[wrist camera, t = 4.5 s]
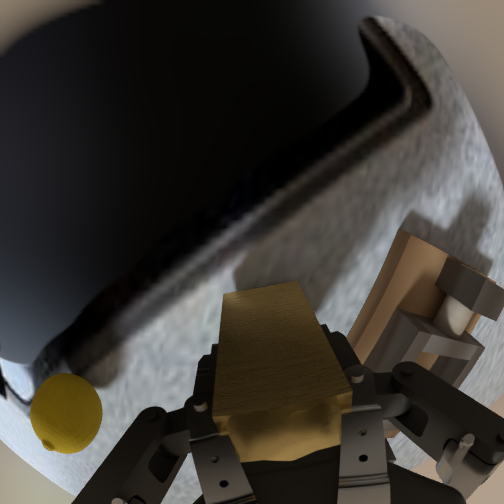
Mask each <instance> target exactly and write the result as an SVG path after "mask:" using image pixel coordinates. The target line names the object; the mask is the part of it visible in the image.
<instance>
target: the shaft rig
mask: <svg viewBox="0 0 504 504" xmlns="http://www.w3.org/2000/svg"><path fill="white" fill-rule="evenodd" d="M503 307H504V289H503V288H501V287H499V286H498V285H496V282H494V281H493V280H491V279H490V278H488V277H486V276H485V275H483V274H481V273H480V272H478V271H476V270H475V269H473V268H471V267H470V266H468V265H466V264H465V263H463V262H461V261H459V260H458V259H456V258H454V257H452V256H450V255H449V254H447V253H445V252H443V251H441V250H440V249H438V248H436V247H434V246H432V245H430V244H428V243H426V242H425V241H423V240H421V239H419V238H417V237H415V236H413V235H411V234H409V233H407V232H404V231H402V230H400V229H399V230H398V232H397V235H396V237H395V239H394V242H393V244H392V246H391V249H390V251H389V253H388V256H387V258H386V260H385V262H384V265H383V267H382V269H381V271H380V273H379V275H378V278H377V280H376V282H375V284H374V286H373V288H372V290H371V292H370V294H369V296H368V298H367V300H366V302H365V304H364V306H363V308H362V310H361V312H360V314H359V316H358V317H357V319H356V321H355V323H354V325H353V327H352V329H351V330H350V332H349V334H348V336H347V337H346V339H347V340H348V342H349V344H350V345H351V348H352V349H353V350H354V352H355V354H356V355H357V357H358V359H359V360H360V362H361V364H362V365H364V366H367V367H369V368H370V369H371V370H372V371H373V372H375V373H385V372H392V369H393V367H394V366H395V365H396V364H398V363H400V362H404V361H412V362H415V363H417V364H419V365H420V366H422V367H424V368H425V369H427V370H428V371H430V372H431V373H433V374H435V375H436V376H438V377H439V378H441V379H442V380H444V381H446V382H447V383H449V384H450V385H452V386H453V387H455V388H457V389H458V388H459V387H460V385H461V384H462V383H463V381H464V380H465V378H466V377H467V375H468V374H469V372H470V371H471V370H472V368H473V366H474V365H475V363H476V362H477V360H478V359H479V357H480V356H481V354H482V352H483V351H484V349H485V347H484V346H483V345H482V344H480V343H479V342H478V341H477V340H476V339H475V338H474V337H473V336H471V335H470V334H471V332H472V331H473V329H474V327H475V325H476V323H477V322H478V320H479V318H480V316H481V315H483V316H485V317H487V318H490V319H492V320H495V321H497V319H498V317H499V315H500V313H501V311H502V309H503ZM382 419H383V428H384V437H385V448H386V460H387V461H389V462H391V463H393V462H394V461H395V460H396V458H395V456H394V454H393V451H392V449H391V447H390V445H389V443H388V441H387V439H386V438H394V437H395V436H396V435H397V434H398V433H399V431H400V430H399V429H398V428H396V427H395V426H394V425H393V424H392V423H391V422H389V421H388V420H387V419H386V417H383V418H382Z"/></svg>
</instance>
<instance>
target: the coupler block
mask: <svg viewBox="0 0 504 504" xmlns="http://www.w3.org/2000/svg"><path fill="white" fill-rule="evenodd" d="M352 393H353V391H352V389H351V387H350V385H349V383H348V380H347V378H346V376H345V374H344V372H343V370H342V368H341V366H340V364H339V362H338V360H337V358H336V356H335V354H334V352H333V350H332V348H331V346H330V344H329V342H328V340H327V338H326V336H325V334H324V332H323V330H322V328H321V326H320V324H319V322H318V320H317V318H316V316H315V314H314V312H313V310H312V308H311V306H310V304H309V302H308V300H307V298H306V296H305V295H304V293H303V291H302V289H301V287H300V285H299V283H298V281H292V282H286V283H281V284H276V285H271V286H265V287H260V288H254V289H248V290H243V291H237V292H231V293H225V294H223V303H222V312H221V322H220V332H219V343H218V353H217V364H216V375H215V387H214V399H213V411H212V418H213V420H214V423H215V425H216V427H217V429H218V432H220V431H224V430H227V431H228V433H229V436H230V438H231V441H232V443H233V445H234V448H235V450H236V452H237V455H238V457H239V459H240V461H241V462H251V461H259V460H273V461H293V460H296V459H298V458H301V457H303V456H305V455H308V454H310V453H312V452H314V451H317V450H320V449H324V448H328V447H332V446H336V445H339V439H340V423H341V409H344V408H351V407H352Z"/></svg>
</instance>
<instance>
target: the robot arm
mask: <svg viewBox="0 0 504 504" xmlns="http://www.w3.org/2000/svg"><path fill="white" fill-rule="evenodd" d="M320 326H321V328H322V330H323V332H324V334H325V336H326V338H327V340H328V342H329V344H330V346H331V348H332V350H333V352H334V354H335V356H336V358H337V360H338V362H339V364H340V366H341V368H342V370H343V372H344V374H345V376H346V378H347V380H348V383H349V385H350V387H351V389H352V391H353V393H352V407H351V408H344V409H341V423H340V439H339V445H336V446H332V447H328V448H324V449H320V450H317V451H314V452H312V453H310V454H308V455H305V456H303V457H301V458H298V459H296V460H293V461H273V460H259V461H251V462H241V461H240V459H239V457H238V455H237V452H236V450H235V448H234V445H233V443H232V441H231V438H230V436H229V433H228V431H227V430H224V431H220V432H218V429H217V427H216V425H215V423H214V420H213V418H212V411H213V399H214V387H215V375H216V364H217V353H218V344H212V349H211V354H209V355H203V357H202V358H201V359H200V361H199V362H198V368H197V373H196V379H195V385H194V391H193V396H191V397H189V398H188V399H187V400H186V402H185V404H184V407H183V408H181V409H178V410H175V411H171V412H168V413H167V412H166V411H165V410H164V409H163V408H161V407H156V406H154V407H149V408H146V409H144V410H143V411H142V412H140V414H139V415H138V416H137V418H136V419H135V420H134V422H133V423H132V424H131V426H130V427H129V428H128V430H127V431H126V432H125V434H124V435H123V436H122V438H121V439H120V440H119V442H118V443H117V444H116V445H115V447H114V448H113V449H112V451H111V452H110V453H109V455H108V456H107V457H106V459H105V460H104V461H103V463H102V464H101V465H100V467H99V468H98V469H97V471H96V472H95V473H94V475H93V476H92V477H91V479H90V480H89V481H88V483H87V484H86V485H85V486H84V488H83V489H82V490H81V492H80V493H79V494H78V496H77V497H76V498H75V500H74V501H73V502H72V504H161V502H162V500H163V498H164V497H165V495H166V493H167V491H168V489H169V488H170V486H171V484H172V482H173V480H174V479H175V477H176V475H177V473H178V471H179V470H180V468H181V466H182V464H183V462H184V460H185V458H186V457H187V454H188V453H191V452H192V456H193V460H194V464H195V468H196V471H197V475H198V479H199V482H200V486H201V489H202V492H203V494H202V495H201V496H200V497H199V498H198V499H197V500H196V501H195V502H194V503H193V504H466V499H468V498H469V497H470V495H471V494H472V493H473V492H474V491H475V490H476V489H477V488H478V487H479V485H481V484H483V483H484V482H485V481H486V480H487V479H488V477H490V475H491V474H492V473H493V472H494V471H495V470H496V469H497V467H498V466H499V465H500V464H501V463H502V462H503V460H504V418H502V417H501V416H499V415H498V414H496V413H494V412H493V411H491V410H490V409H488V408H486V407H485V406H483V405H482V404H480V403H479V402H477V401H475V400H474V399H472V398H471V397H469V396H468V395H466V394H464V393H463V392H461V391H460V390H458V389H457V388H455V387H453V386H452V385H450V384H449V383H447V382H446V381H444V380H442V379H441V378H439V377H438V376H436V375H435V374H433V373H431V372H430V371H428V370H427V369H425V368H424V367H422V366H420V365H419V364H417V363H415V362H412V361H404V362H400V363H398V364H396V365H395V366H394V367H393V369H392V372H385V373H375V372H373V371H372V370H371V369H370V368H369V367H367V366H364V365H362V364H361V362H360V360H359V359H358V357H357V355H356V354H355V352H354V350H353V349H352V348H351V345H350V344H349V342H348V340H347V339H346V337H345V335H343V334H341V333H340V332H338V331H335V332H331V333H330V331H329V329H328V327H327V325H326V324H323V325H320ZM383 417H386V419H387V420H388V421H389V422H391V423H392V424H393V425H394V426H395V427H396V428H398V429H399V430H400V431H401V432H402V433H403V434H405V435H406V436H407V437H408V438H409V439H410V440H412V441H413V442H414V443H415V444H416V445H417V446H419V447H420V448H421V449H422V450H423V451H425V452H426V453H427V454H428V455H429V456H431V457H432V458H433V459H434V460H435V461H437V464H436V471H437V473H438V475H439V477H440V478H441V479H442V482H443V483H440V482H438V481H435V480H432V479H429V478H427V477H424V476H422V475H419V474H417V473H414V472H412V471H410V470H407V469H405V468H403V467H400V466H398V465H396V464H394V463H391V462H389V461H387V460H386V448H385V437H384V428H383V419H382V418H383Z"/></svg>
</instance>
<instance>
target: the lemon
mask: <svg viewBox="0 0 504 504" xmlns="http://www.w3.org/2000/svg"><path fill="white" fill-rule="evenodd" d="M102 415H103V413H102V404H101V401H100V398H99V396H98V394H97V392H96V390H95V389H94V388H93V387H92V385H91V384H90V383H88V381H87V380H85V379H83V378H81V377H79V376H77V375H74V374H70V373H60V374H57V375H54V376H51V377H50V378H48V379H47V380H46V381H45V382H44V383H43V384H42V385H41V386H40V387H39V388H38V390H37V392H36V393H35V395H34V398H33V401H32V404H31V410H30V419H31V424H32V427H33V429H34V431H35V433H36V435H37V437H38V438H39V439H40V440H41V441H42V444H43V446H44V447H45V448H46V449H47V450H49V451H57V452H60V453H65V454H71V453H77V452H80V451H82V450H83V449H84V448H86V447H87V446H88V445H89V444H90V443H91V442H92V441H93V439H94V438H95V436H96V435H97V433H98V431H99V428H100V425H101V421H102Z"/></svg>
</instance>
